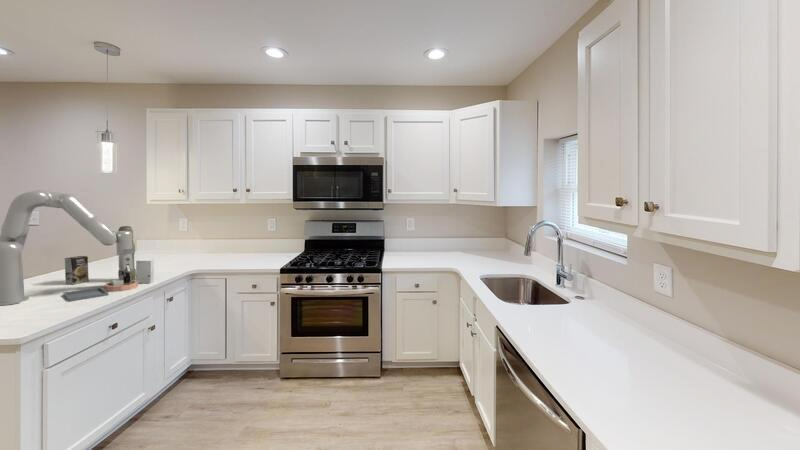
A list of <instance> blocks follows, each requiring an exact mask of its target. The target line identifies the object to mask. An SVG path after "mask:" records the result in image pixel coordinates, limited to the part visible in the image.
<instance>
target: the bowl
mask: <svg viewBox="0 0 800 450" xmlns="http://www.w3.org/2000/svg"><path fill="white" fill-rule="evenodd" d="M138 286H139V284H138V281H136V280H132V283H130V284H123V286H112V281H110V282H107V283H105V284H104V290H105V291H107V292H112V293H115V292H116V293H117V292H118V293H119V292H125V291H132V290H133V289H137V288H138Z"/></svg>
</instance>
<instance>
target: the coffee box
mask: <svg viewBox="0 0 800 450" xmlns="http://www.w3.org/2000/svg"><path fill="white" fill-rule="evenodd" d="M88 258H89V257H88V255H87V256H86V255H78V256H71V257H64V274H65V277H64V278H65V284H66V285H72V286H74V285H79V284H82V283H88V282H89V278H90V277H89V262H88V261H89V260H88Z"/></svg>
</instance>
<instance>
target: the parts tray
mask: <svg viewBox="0 0 800 450" xmlns="http://www.w3.org/2000/svg"><path fill="white" fill-rule="evenodd" d="M107 296H109V291H106V290H105V288H103V287H101V286H99V287H92V288H87V289H85V288H84V289H78V290H72V291H65V292H63V297H64V298H65V299H66V300H67V301H69V302H76V301H81V300H87V299H88V300H89V299H95V298H101V297H107Z"/></svg>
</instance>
